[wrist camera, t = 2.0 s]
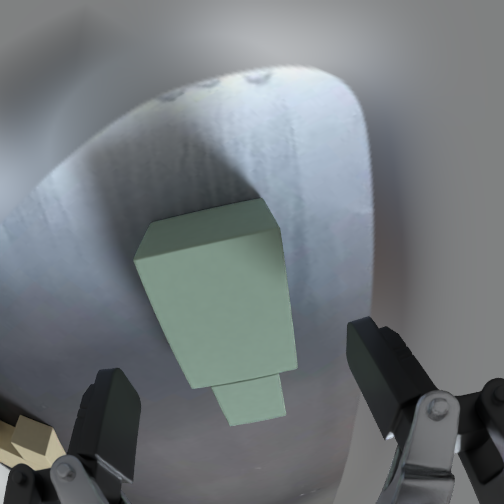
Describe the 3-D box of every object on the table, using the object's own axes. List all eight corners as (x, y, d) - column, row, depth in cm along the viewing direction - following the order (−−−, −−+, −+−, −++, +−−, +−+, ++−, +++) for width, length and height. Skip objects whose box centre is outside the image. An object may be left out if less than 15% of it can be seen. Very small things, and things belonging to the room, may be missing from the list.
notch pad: (-37, 385, 16) (-49, 408, 13) (53, 427, 19) (45, 456, 16) (-3, 437, 21) (-10, 456, 18) (73, 468, 24) (69, 490, 21)
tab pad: (150, 222, 12) (131, 259, 9) (262, 196, 13) (280, 226, 10) (211, 383, 18) (214, 429, 14) (289, 367, 18) (302, 411, 15)
